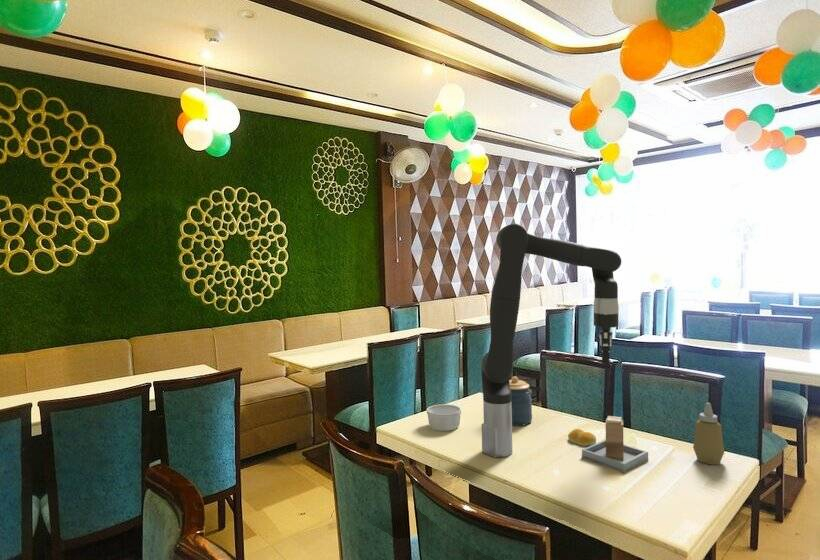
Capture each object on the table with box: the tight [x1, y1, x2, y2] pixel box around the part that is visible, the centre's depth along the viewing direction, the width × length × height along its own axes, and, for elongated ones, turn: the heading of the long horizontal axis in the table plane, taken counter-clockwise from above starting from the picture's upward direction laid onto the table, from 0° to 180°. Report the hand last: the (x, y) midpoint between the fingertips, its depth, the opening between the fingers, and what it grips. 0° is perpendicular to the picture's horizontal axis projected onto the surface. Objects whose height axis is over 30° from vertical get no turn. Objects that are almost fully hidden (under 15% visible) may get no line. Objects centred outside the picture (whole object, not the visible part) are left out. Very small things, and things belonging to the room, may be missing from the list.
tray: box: [581, 438, 649, 473], centre depth 147 cm, size 14×14×2 cm
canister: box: [509, 376, 533, 426], centre depth 185 cm, size 13×13×18 cm
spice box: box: [605, 415, 624, 460], centre depth 147 cm, size 5×5×12 cm
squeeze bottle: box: [692, 402, 725, 465], centre depth 143 cm, size 8×8×18 cm
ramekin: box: [426, 403, 462, 432], centre depth 180 cm, size 13×13×7 cm
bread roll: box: [567, 428, 597, 447], centre depth 162 cm, size 8×9×4 cm
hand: (605, 361), depth 153 cm, fingers open, 8 cm apart
